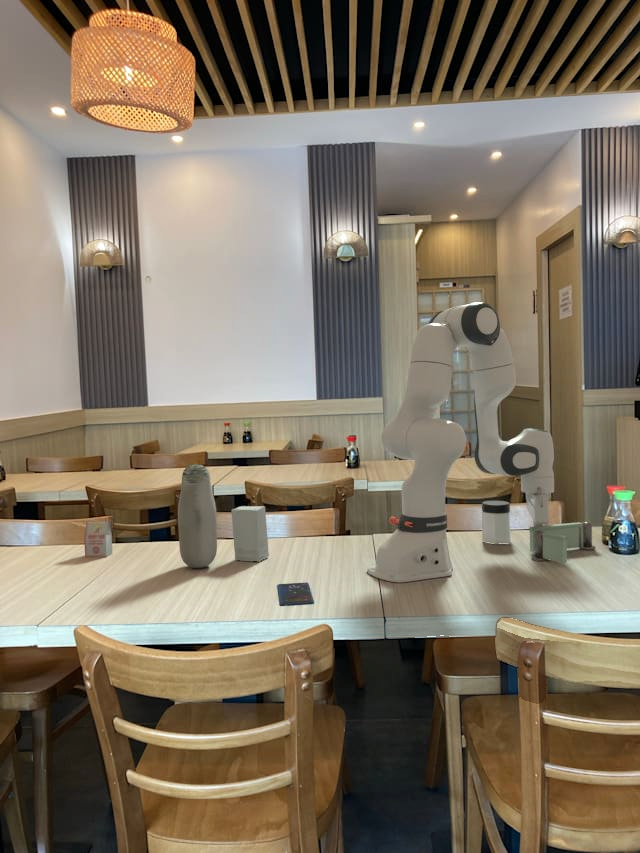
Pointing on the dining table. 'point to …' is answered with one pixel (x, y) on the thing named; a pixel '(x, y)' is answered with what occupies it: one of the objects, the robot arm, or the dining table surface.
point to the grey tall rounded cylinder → (197, 518)
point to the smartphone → (294, 594)
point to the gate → (561, 533)
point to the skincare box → (250, 533)
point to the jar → (496, 522)
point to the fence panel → (554, 547)
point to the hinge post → (587, 536)
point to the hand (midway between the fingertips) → (537, 534)
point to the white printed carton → (98, 539)
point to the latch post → (538, 547)
